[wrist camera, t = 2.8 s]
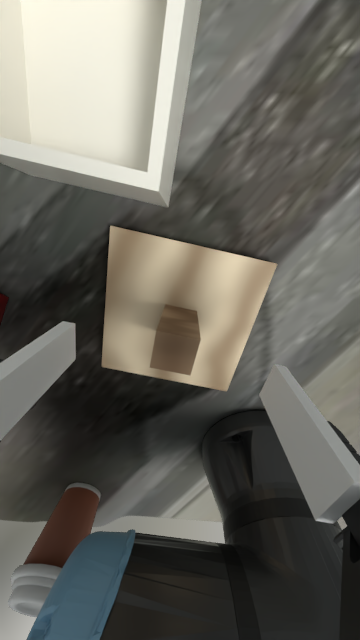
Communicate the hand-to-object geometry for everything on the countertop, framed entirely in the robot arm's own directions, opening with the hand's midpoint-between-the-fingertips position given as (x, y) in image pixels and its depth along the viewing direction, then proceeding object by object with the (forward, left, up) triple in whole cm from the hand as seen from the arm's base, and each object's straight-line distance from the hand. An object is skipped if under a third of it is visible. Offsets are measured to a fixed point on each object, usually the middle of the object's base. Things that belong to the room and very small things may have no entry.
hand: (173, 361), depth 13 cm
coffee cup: (+10, +38, -9) cm, 41 cm away
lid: (0, 0, -9) cm, 9 cm away
